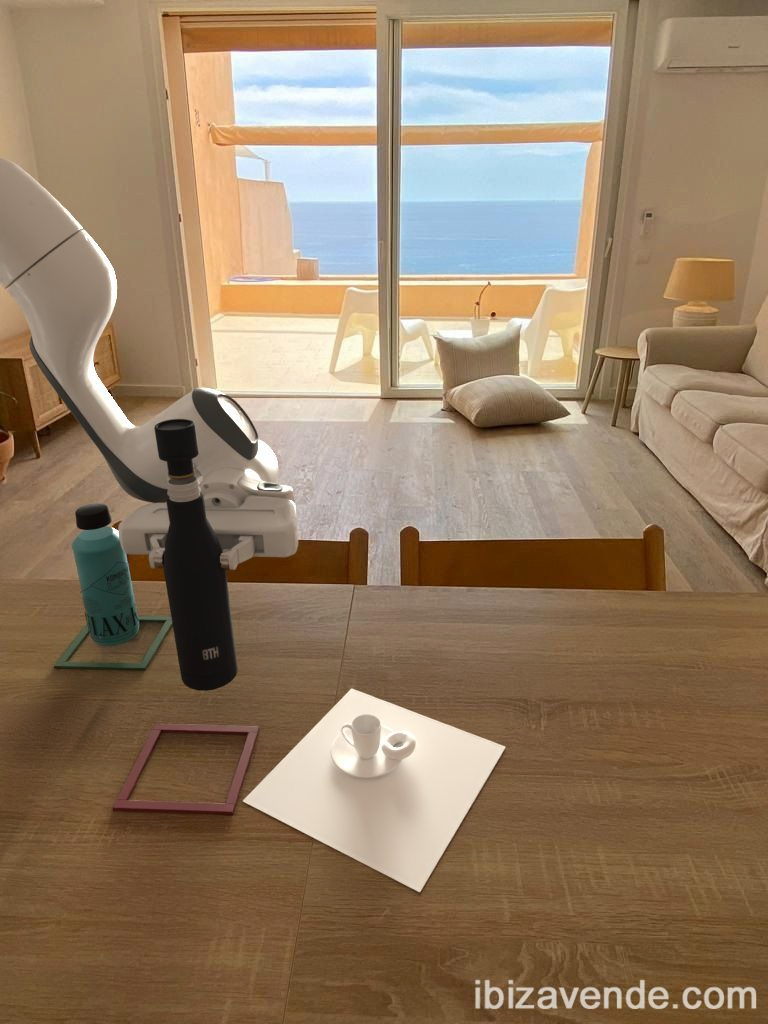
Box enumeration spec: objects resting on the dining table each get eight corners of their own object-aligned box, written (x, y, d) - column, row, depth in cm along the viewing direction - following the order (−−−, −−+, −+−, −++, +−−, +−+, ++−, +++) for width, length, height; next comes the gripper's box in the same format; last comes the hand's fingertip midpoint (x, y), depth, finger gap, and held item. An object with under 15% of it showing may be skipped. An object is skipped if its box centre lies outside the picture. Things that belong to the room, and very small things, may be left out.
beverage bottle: (82, 653, 92) (50, 516, 84) (111, 625, 98) (84, 495, 90) (125, 659, 91) (97, 521, 82) (152, 631, 97) (129, 499, 88)
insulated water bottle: (209, 650, 84) (175, 411, 72) (249, 666, 81) (221, 420, 69) (169, 679, 79) (125, 428, 67) (211, 698, 76) (173, 438, 64)
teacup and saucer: (424, 745, 76) (424, 716, 74) (387, 795, 69) (386, 764, 68) (356, 718, 80) (355, 690, 78) (315, 763, 74) (313, 733, 72)
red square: (112, 810, 68) (112, 807, 68) (155, 726, 79) (155, 723, 79) (232, 814, 68) (232, 811, 67) (259, 728, 79) (259, 726, 78)
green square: (54, 668, 89) (53, 665, 89) (94, 617, 100) (94, 614, 100) (145, 670, 89) (144, 668, 88) (176, 618, 99) (175, 616, 99)
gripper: (139, 484, 85) (90, 535, 72) (305, 486, 84) (284, 538, 71) (147, 530, 88) (100, 587, 75) (307, 533, 87) (288, 591, 74)
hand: (191, 563), depth 73 cm, fingers closed on insulated water bottle, 6 cm apart
